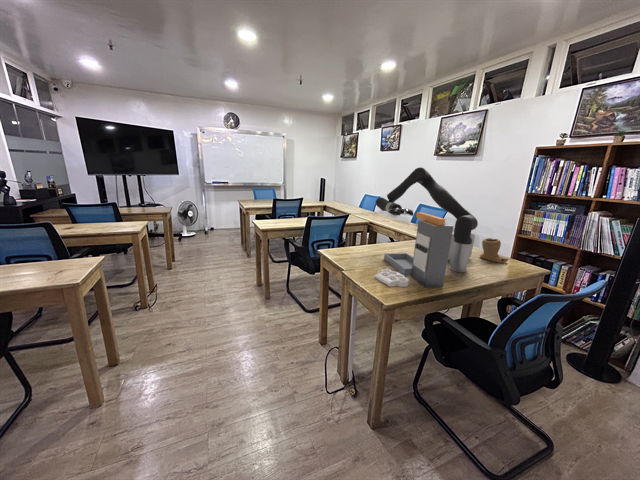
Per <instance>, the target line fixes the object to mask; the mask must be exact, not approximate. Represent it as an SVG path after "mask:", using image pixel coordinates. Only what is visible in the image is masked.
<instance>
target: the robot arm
mask: <svg viewBox="0 0 640 480" xmlns="http://www.w3.org/2000/svg"><path fill="white" fill-rule="evenodd" d="M416 183H418V184H420V185H421V186H422V187H423V188H424V189H426V191H427V193H428V194H429V195H430V197H431V198H432V200H433V202H434V203H436V205H438V207H440V208H441V209H443V210H444V211H445V212H447V213H449V214H451V215H452V216H453V217H454V218H455V219H456V220H455V223H454V227H453V232H454V244H453V249H452V255H451V260H449V261H450V262H449V266H448V268H449V270H451V271H452V272H453V271H454V272H456V273H457V272H458V273H465V272H467V267H468V264H469V263H468V262H469V260H470V258H469V254H470V249H471V244H472V238H471V233H472V231H473V230H475V229H477V227H478V225H479V221H478V219H477V218H476V216H474V215H473V214H472V213H471V212H470V211H468V210H467V209H465V208H464V207H463V206H462V204H461V203H459V202H458V200H457V199H456V198H454V196H453V195H452V194H451V193H450V192H449V191H448V190H447V189H446V188H445V187H443V186H442V185H441V184H440V183H438V182H437V181H436V180H435V179H434V178H433V176H432V175H431V174H430V172H429V171H428V169H426V168H424V167H417V168H415V169H414V170H412V172H411V173H409V175H408V176H407V177H406V178H405V179H404V180H403V181H402V182H401V183H400V184H399V185H398V186H397V187H395V188H393V190H391V191H390V192H389V193H387V195H386V198H387V199H386V198H385V197H378V198H377V199H376V200H375V205H376V206H377V207H378V208H379V209H380V210H381V211H382V212H387V213H388V214H390V215H391V216H396V217H398V216H401V215H409V216H414V212H413V211H414V210H412V209H410V208H403V207H402V205H401V204H399V203H396V201H397V200H399V199H400V198H401V197H403V195H404V194H405V193H406V192H407V190H409V189H410V188H411V186H414V185H415V184H416Z"/></svg>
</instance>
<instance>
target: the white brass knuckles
mask: <svg viewBox="0 0 640 480" xmlns="http://www.w3.org/2000/svg"><path fill="white" fill-rule="evenodd" d="M373 276H374V279H376V280H378V281H380V282H381V283H383V284H385V285H386V286H388V287H390V288H391V287H395V286H398V287H401V288H407V287H408V286H409V283H410V279H409V278H407V277H405V276H406V275H405V276H404V275H403V274H402V273H400V272H399V271H393V270H391V269H389V268H382V269H381V270H380V272H378V273H376V274H374V275H373Z"/></svg>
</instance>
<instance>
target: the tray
mask: <svg viewBox="0 0 640 480" xmlns="http://www.w3.org/2000/svg"><path fill="white" fill-rule="evenodd" d="M413 257H414V256H412V255H411V254H409V253H407V252H397V253H396V252H393V253H384V255H383V260H384V261H385V262H387V264H389V265H390V266H391V267H392V268H394V269H395V270H397V272H398V273H399V274H402V275H404V276H411V272H412V264H413Z"/></svg>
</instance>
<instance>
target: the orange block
mask: <svg viewBox="0 0 640 480" xmlns="http://www.w3.org/2000/svg"><path fill="white" fill-rule="evenodd" d="M416 219H419V220H425V221H428V222H431V223H434V224H437V225H444V224H445V223H446V218H443V217H440V216H436V215H433V214H429V213H426V212H422V211H421V212H420V211H417V212H416Z"/></svg>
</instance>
